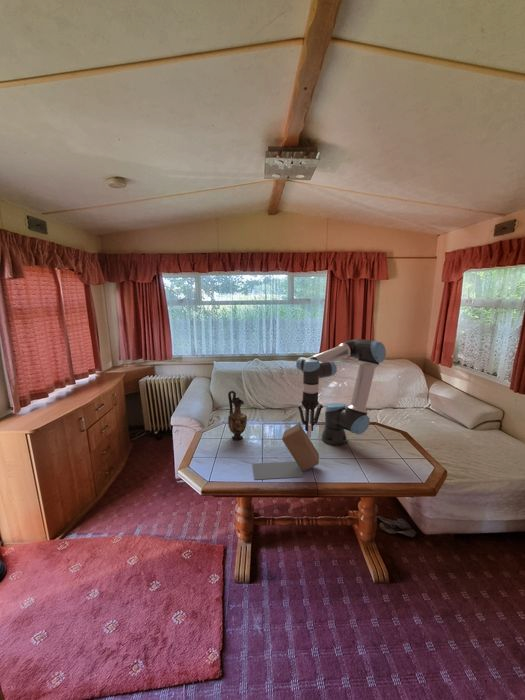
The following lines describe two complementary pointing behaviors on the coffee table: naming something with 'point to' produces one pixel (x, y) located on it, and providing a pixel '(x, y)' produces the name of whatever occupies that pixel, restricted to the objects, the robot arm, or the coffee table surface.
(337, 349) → the robot arm
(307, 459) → the block
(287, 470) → the mat
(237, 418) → the vase
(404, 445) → the coffee table surface
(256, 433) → the coffee table surface
